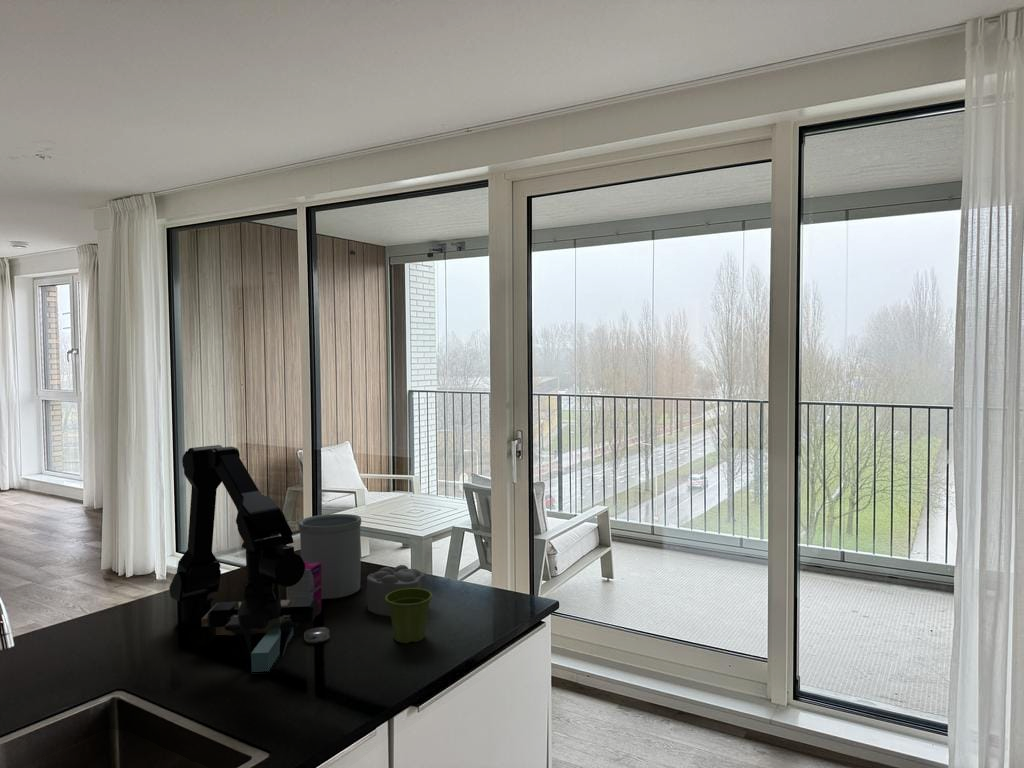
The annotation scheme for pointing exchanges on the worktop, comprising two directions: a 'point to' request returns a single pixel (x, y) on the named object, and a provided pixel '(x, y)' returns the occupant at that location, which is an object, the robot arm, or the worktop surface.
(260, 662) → the dark grey-teal rectangular block
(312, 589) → the supplement box
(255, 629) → the oak plinth shelf
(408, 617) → the plant pot
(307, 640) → the steel token
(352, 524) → the utensil holder
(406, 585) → the lumpy-topped squat cylinder
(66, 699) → the worktop surface
